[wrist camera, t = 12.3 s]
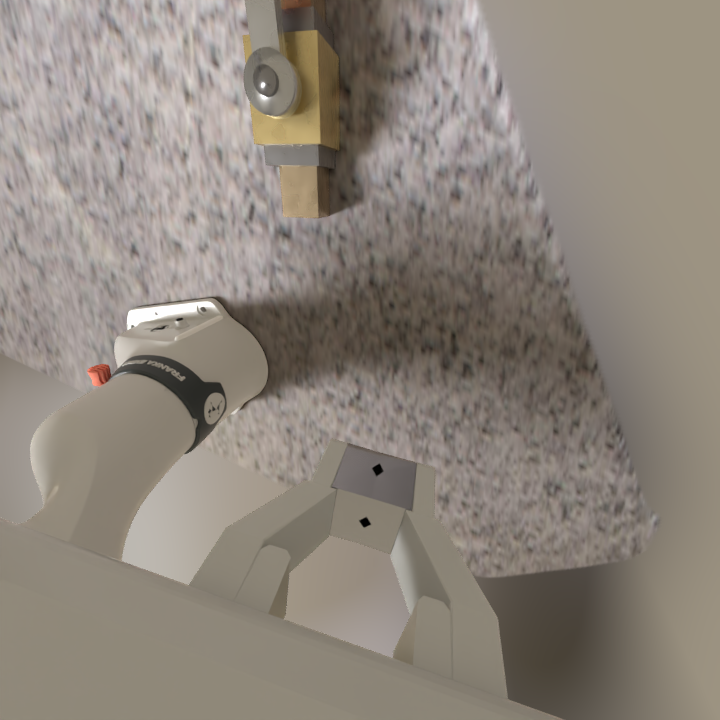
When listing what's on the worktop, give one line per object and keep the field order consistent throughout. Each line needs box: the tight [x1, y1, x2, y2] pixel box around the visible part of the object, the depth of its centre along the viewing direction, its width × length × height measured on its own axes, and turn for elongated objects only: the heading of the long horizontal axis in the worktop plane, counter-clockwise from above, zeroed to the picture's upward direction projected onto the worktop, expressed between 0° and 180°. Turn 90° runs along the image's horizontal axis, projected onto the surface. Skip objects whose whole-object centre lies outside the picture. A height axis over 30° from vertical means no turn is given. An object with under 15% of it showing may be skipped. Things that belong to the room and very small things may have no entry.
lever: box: [244, 0, 302, 119], centre depth 23 cm, size 12×4×2 cm, turn 2°
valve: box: [243, 0, 340, 218], centre depth 29 cm, size 19×6×7 cm, turn 179°
